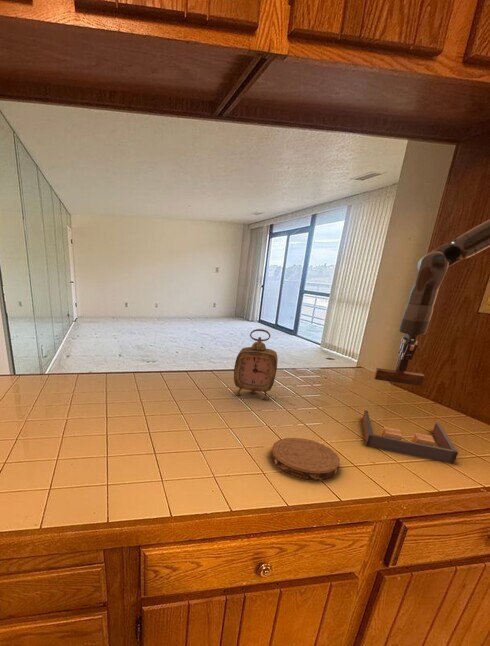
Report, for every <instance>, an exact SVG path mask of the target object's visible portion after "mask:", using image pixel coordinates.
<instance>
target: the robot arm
mask: <svg viewBox="0 0 490 646" xmlns="http://www.w3.org/2000/svg"><path fill="white" fill-rule="evenodd" d="M488 248H490V218H489V219H487V220H484V221H483V222H481V223H479V224H477V225H476V226H474V227H472V228H470V229H468V230H467V231H465V232H463V233H462V234H460V235H458V236H457V237H456V238H453V240H451V241H449V242H447V243H445V244H443V245H441V246H439V247H437V248H434V249H433V250H431V251H429V252H427V253H426V254H424V255H423V256H421V258H420V259H419V260H418V262H417V271H418V272H417V275H416V280H415V283H414V285H413V286H412V288H411V290H410V293H409V298H408V301H407V304H406V306H405V309H404V311H403V314H402V318H401V322H400V326H399V328H398V331H399V332H400V333H401V334H404V336H402V337H401V339H400V340H401V341H400V345H399V350H398V359H399V358H400V355H401V354H402V357H401V361H400V364H399V368H398V369H399V370H400V371H405V372H407V369H408V366H409V362H410V361H412V360H413V357H414V355H415V353H416V351H417V349H418V343H419V340H418V336H425V335H426V334H427V332H428V328H429V325H430V322H431V319H432V316H433V312H434V306H435V303H436V301H437V297H438V293H439V289H440V287H441V285H442V282H443V280H444V278H445V275H446V273H447V271H448V268H449V267H451V266H453V265H454V264H457V263H458V262H461V261H463V260H467V259H469V258H471V257H473V256H475V255H477V254H479V253H481V252H482V251H484V250H487V249H488ZM406 355H409V356H406ZM397 365H398V363H397V364H396V366H397Z"/></svg>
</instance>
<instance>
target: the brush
mask: <svg viewBox="0 0 490 646" xmlns="http://www.w3.org/2000/svg"><path fill="white" fill-rule="evenodd" d="M406 356H409V355H406ZM401 357H402V354H401V355H400V358H399V357H398V362H397V364H398V365H397V364H396V368H395V369H389V368H380V367H376V368H375V372H374V375H373V378H374V380H376V381H383V382H391V383H397V384H405V385H412V386H420V387H422V386H423V384H424V381H425V378H426V377H425V375H424V373H421V372H420V373H419V372H411V371H400V370H399V369H398V368H399V364H400V361H401Z"/></svg>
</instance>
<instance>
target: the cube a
mask: <svg viewBox="0 0 490 646" xmlns="http://www.w3.org/2000/svg"><path fill="white" fill-rule="evenodd" d="M381 436H382V437H388V438H393V439H398V440H402V438H403V434H402V431H401V429H397V428H392V427H386V426H384V427H383V429H382V433H381Z"/></svg>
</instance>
